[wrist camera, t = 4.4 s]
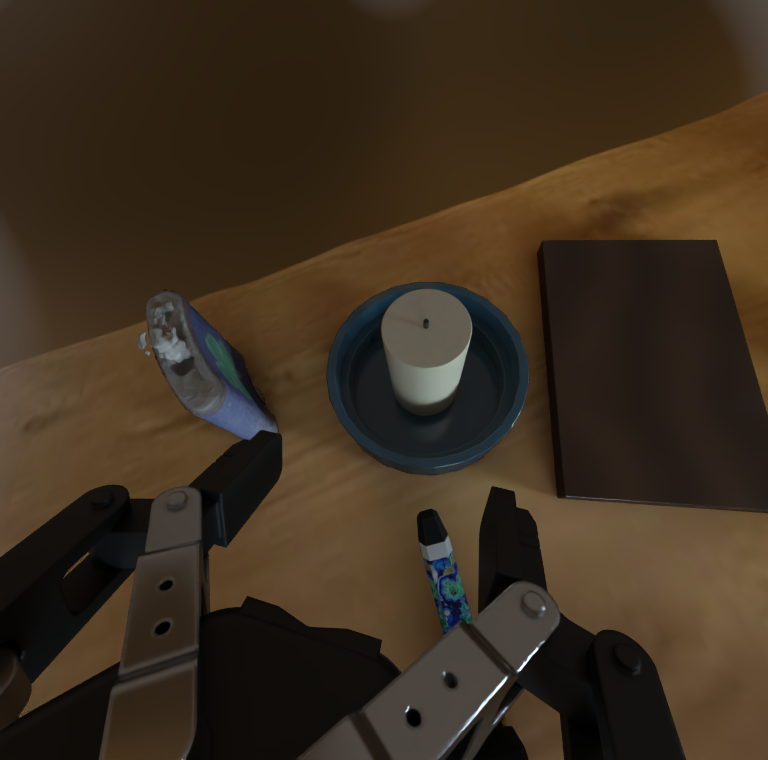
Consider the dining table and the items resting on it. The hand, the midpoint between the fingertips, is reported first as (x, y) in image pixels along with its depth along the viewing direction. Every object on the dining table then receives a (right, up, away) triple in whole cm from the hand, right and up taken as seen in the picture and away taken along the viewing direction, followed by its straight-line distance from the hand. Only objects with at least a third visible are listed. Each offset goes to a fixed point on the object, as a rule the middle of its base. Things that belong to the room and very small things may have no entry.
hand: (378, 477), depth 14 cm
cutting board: (+19, +5, +14) cm, 24 cm away
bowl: (+3, +3, +15) cm, 15 cm away
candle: (+3, +3, +14) cm, 15 cm away
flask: (-11, +2, +16) cm, 19 cm away
